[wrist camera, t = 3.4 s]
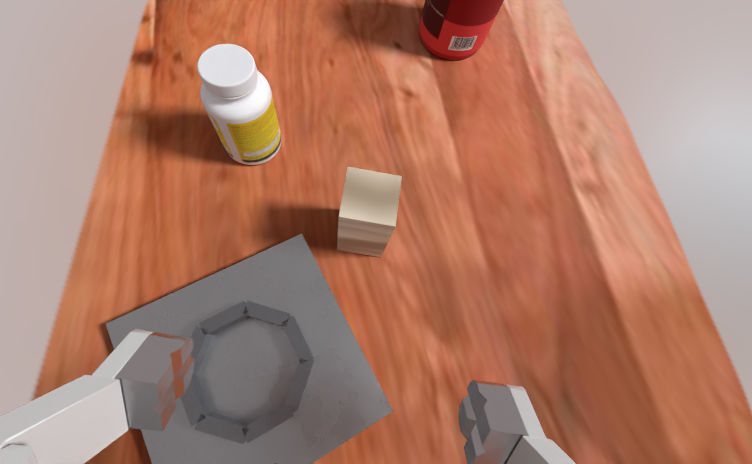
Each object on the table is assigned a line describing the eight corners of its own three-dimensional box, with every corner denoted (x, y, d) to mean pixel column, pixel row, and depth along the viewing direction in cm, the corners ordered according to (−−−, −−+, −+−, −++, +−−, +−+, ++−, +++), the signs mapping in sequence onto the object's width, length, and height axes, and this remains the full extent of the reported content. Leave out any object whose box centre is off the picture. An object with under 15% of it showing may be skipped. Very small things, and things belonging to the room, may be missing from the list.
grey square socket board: (390, 409, 28) (396, 413, 26) (187, 539, 24) (170, 560, 22) (302, 237, 32) (300, 227, 30) (114, 325, 28) (93, 321, 26)
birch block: (380, 257, 33) (395, 226, 25) (336, 250, 32) (338, 216, 25) (386, 217, 34) (401, 176, 27) (344, 209, 34) (348, 166, 26)
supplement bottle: (292, 132, 36) (278, 54, 27) (264, 175, 34) (239, 107, 25) (243, 110, 36) (213, 25, 27) (213, 152, 34) (169, 75, 25)
